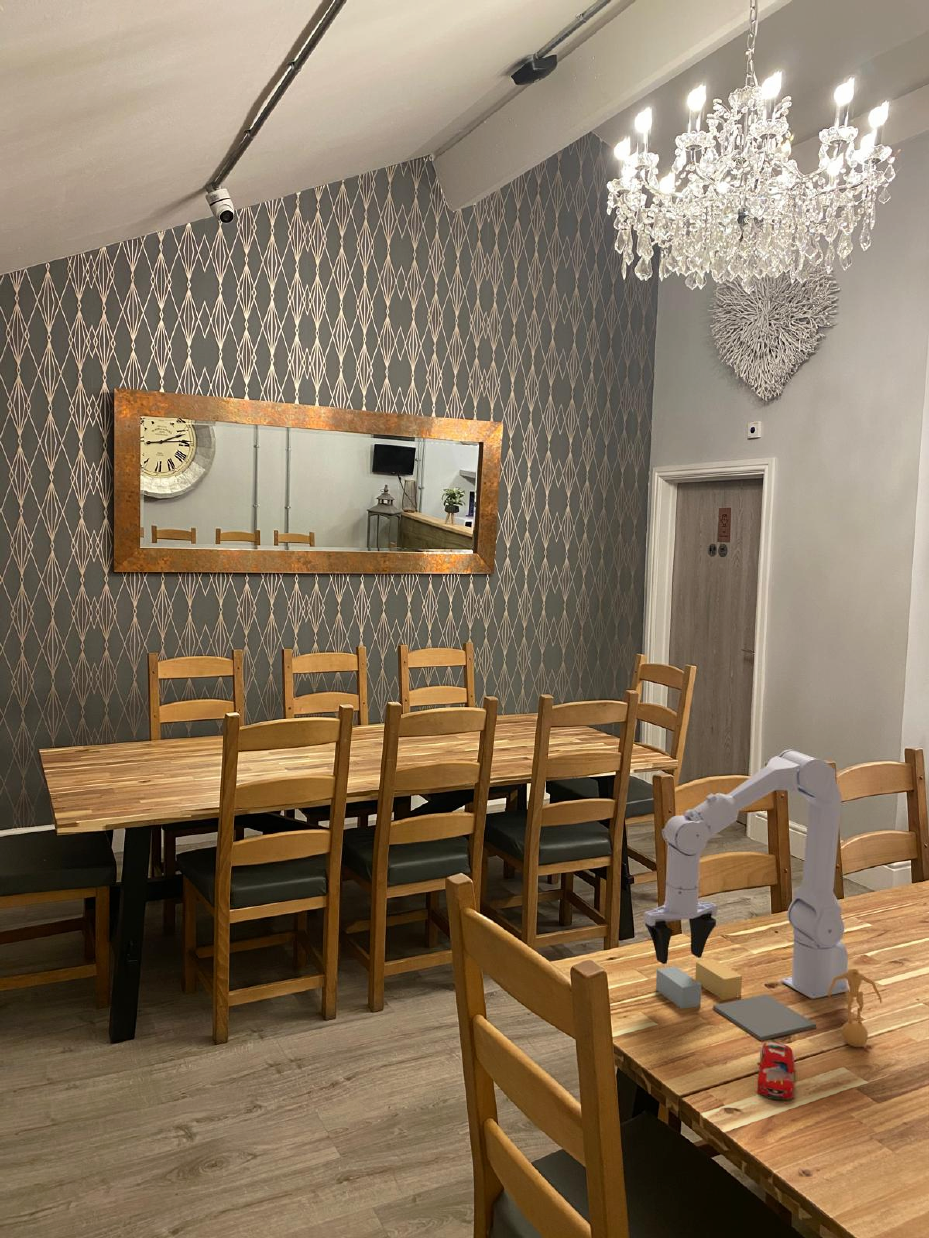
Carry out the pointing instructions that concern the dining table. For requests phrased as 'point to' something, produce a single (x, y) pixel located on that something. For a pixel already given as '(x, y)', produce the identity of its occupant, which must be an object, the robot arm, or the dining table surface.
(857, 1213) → the dining table surface
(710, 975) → the ochre brick
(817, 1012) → the dining table surface
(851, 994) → the figurine
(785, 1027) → the mat
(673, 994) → the slate brick
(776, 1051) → the race car
